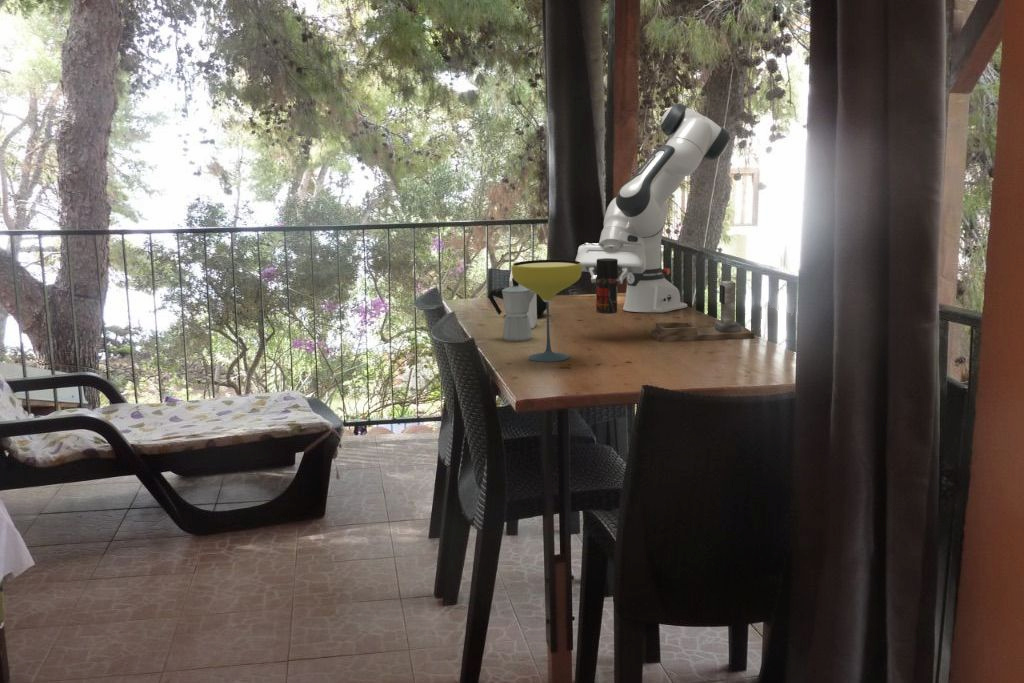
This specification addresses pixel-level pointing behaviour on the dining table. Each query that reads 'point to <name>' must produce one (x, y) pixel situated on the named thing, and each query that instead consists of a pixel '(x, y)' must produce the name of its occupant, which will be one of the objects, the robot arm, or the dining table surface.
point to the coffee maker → (514, 311)
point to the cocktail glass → (547, 289)
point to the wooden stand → (721, 330)
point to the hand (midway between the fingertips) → (606, 282)
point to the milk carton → (532, 306)
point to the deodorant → (606, 286)
